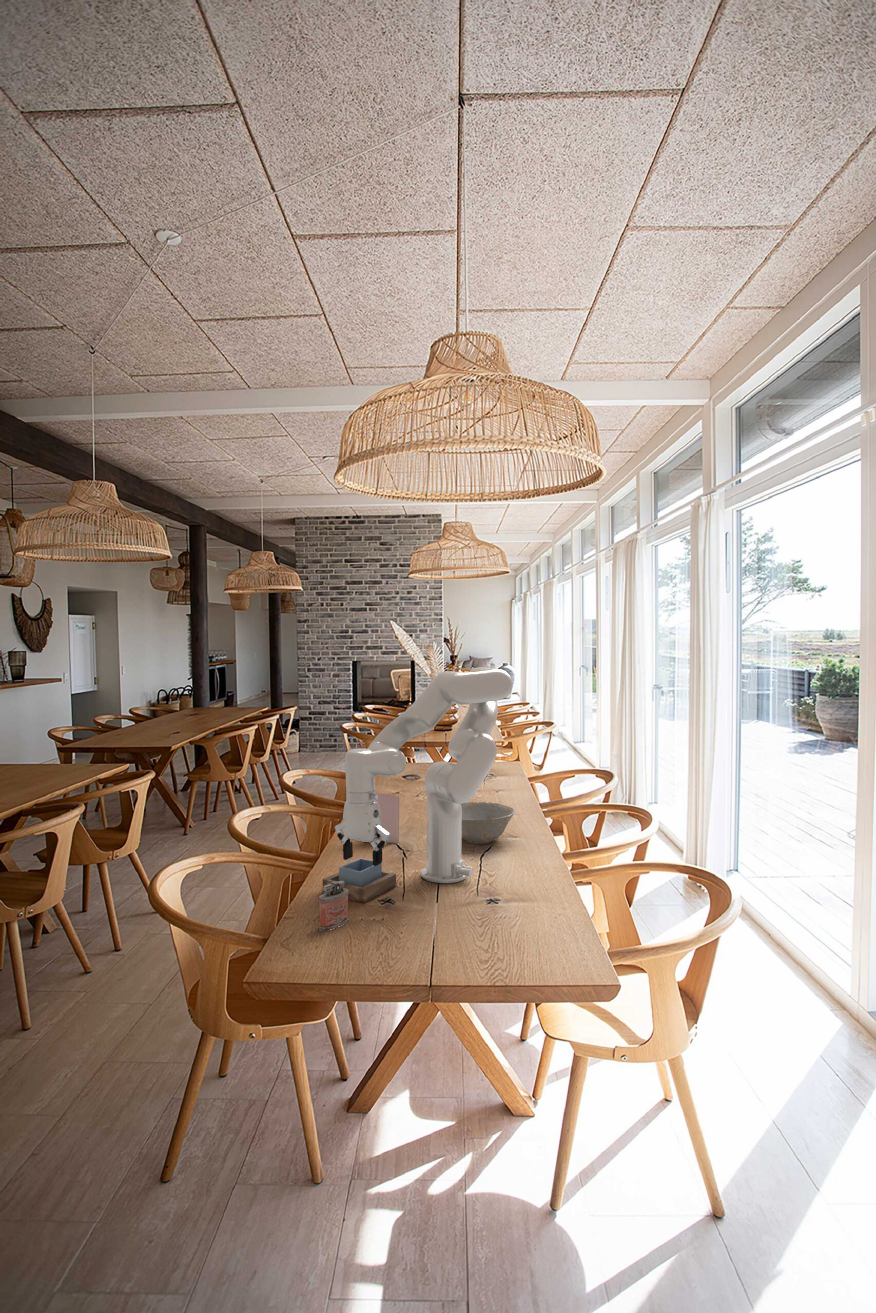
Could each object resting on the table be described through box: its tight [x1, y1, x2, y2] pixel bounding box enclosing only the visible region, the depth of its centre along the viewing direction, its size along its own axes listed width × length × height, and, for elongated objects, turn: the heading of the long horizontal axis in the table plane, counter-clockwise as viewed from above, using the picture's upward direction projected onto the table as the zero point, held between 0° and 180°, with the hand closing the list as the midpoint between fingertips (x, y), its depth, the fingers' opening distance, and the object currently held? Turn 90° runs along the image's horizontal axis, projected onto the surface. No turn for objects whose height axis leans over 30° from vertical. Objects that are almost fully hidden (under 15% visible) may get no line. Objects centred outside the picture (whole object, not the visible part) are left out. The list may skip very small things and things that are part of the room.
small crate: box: [338, 857, 383, 887], centre depth 187 cm, size 7×9×6 cm
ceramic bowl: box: [461, 801, 515, 845], centre depth 232 cm, size 22×23×10 cm
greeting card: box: [375, 791, 400, 844], centre depth 229 cm, size 11×7×15 cm, turn 56°
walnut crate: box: [322, 870, 397, 904], centre depth 187 cm, size 14×14×4 cm
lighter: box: [318, 881, 349, 932], centre depth 164 cm, size 8×3×10 cm, turn 141°
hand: (362, 861), depth 187 cm, fingers open, 9 cm apart
